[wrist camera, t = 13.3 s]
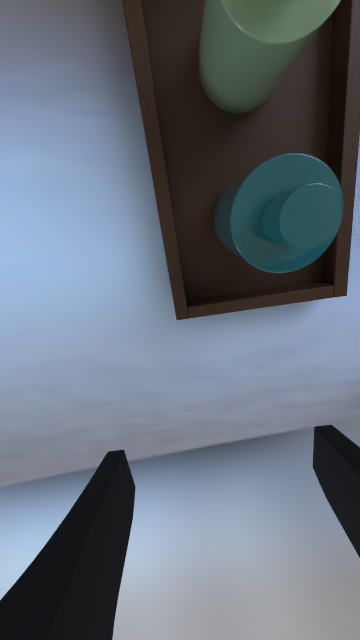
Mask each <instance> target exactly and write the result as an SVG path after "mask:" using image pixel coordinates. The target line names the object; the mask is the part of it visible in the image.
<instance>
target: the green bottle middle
mask: <svg viewBox="0 0 360 640" xmlns="http://www.w3.org/2000/svg"><path fill="white" fill-rule="evenodd" d="M340 1H341V0H204V4H203V13H202V22H201V30H200V39H199V48H198V60H197V62H198V73H199V78H200V82H201V84H202V87H203V89H204V91H205V93H206V95H207V96H208V97H209V99H210V100H211V101H212V102H213V103H214V104H215V105H216V106H217V107H219V108H220V109H222V110H224V111H227V112H230V113H246V112H249V111H252V110H254V109H256V108H258V107H259V106H261V105H262V104H263V103H264V102H266V100H267V99H268V98H269V97H270V96H271V95H272V93H273V92H274V91H275V90H276V88H277V87H278V85H279V84H280V83H281V81H282V80H283V79H284V77H285V76H286V75H287V73H288V72H289V71H290V69H291V68H292V67H293V65H294V64H295V63H296V61H297V60H298V59H299V57H300V56H301V55H302V53H303V52H304V51H305V49H306V48H307V47H308V45H309V44H310V42H311V41H312V40H313V38H314V37H315V36H316V34H317V33H318V32H319V30H320V29H321V28H322V26H323V25H324V24H325V22H326V21H327V20H328V18H329V17H330V16H331V14H332V13H333V12H334V10H335V9H336V8H337V6H338V5H339V3H340Z"/></svg>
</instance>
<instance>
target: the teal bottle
mask: <svg viewBox="0 0 360 640" xmlns="http://www.w3.org/2000/svg"><path fill="white" fill-rule="evenodd" d="M342 214H343V194H342V190H341V186H340V183H339V181H338V179H337V177H336V175H335V174H334V172H333V171H332V170H331V169H330V167H329V166H328V165H326V164H325V163H324V162H323V161H321V160H320V159H318V158H316V157H314V156H311V155H308V154H304V153H285V154H281V155H278V156H275V157H273V158H270V159H268V160H267V161H265V162H263V163H261V164H260V165H258V166H257V167H256V168H254V169H253V170H251V171H250V172H248V173H247V174H245V175H244V176H242V177H241V178H239V179H238V180H236V181H235V182H233V183H232V184H231V185H229V186H228V187H227V188H226V189H225V190H224V191H223V192H222V193H221V195H220V196H219V198H218V200H217V202H216V204H215V207H214V211H213V229H214V232H215V235H216V237H217V239H218V241H219V242H220V243H221V245H222V246H223V247H224V248H226V249H227V250H229V251H230V252H232V253H233V254H235V255H236V256H238V257H240V258H241V259H243V260H244V261H246V262H247V263H249V264H251V265H252V266H254V267H256V268H258V269H260V270H263V271H266V272H271V273H287V272H292V271H295V270H298V269H301V268H303V267H305V266H307V265H308V264H310V263H312V262H313V261H314V260H316V259H317V258H318V257H319V256H320V255H321V254H322V253H323V252H324V251H325V250H326V249H327V248H328V247H329V245H330V244H331V242H332V241H333V239H334V237H335V236H336V234H337V232H338V229H339V226H340V223H341V219H342Z"/></svg>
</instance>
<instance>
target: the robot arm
mask: <svg viewBox="0 0 360 640" xmlns="http://www.w3.org/2000/svg"><path fill="white" fill-rule="evenodd" d="M313 468H314V471H315V473H316V476H317V478H318V480H319V483H320V485H321V487H322V489H323V492H324V494H325V496H326V498H327V500H328V502H329V504H330V506H331V507H332V509H333V511H334V513H335V514H336V516H337V518H338V520H339V522H340V524H341V525H342V527H343V529H344V531H345V532H346V534H347V536H348V538H349V540H350V541H351V543H352V545H353V547H354V548H355V550H356V552H357V554H358V556H359V557H360V447H358V446H357V445H356V444H355V443H353V442H352V441H351V440H349V439H348V438H347V437H346V436H345V435H344V434H342V433H341V432H340V431H339V430H337V429H336V428H335V427H333V426H332V425H326V426H317V427H314V450H313ZM134 498H135V485H134V481H133V478H132V474H131V471H130V468H129V465H128V461H127V458H126V455H125V452H124V450H118V451H110V452H108V453H107V454H106V456H105V457H104V459H103V460H102V462H101V464H100V465H99V467H98V468H97V470H96V472H95V474H94V475H93V476H92V478H91V480H90V481H89V483H88V484H87V486H86V487H85V489H84V490H83V492H82V494H81V495H80V496H79V498H78V499H77V501H76V502H75V504H74V505H73V507H72V508H71V510H70V512H69V513H68V515H67V516H66V517H65V519H64V520H63V521H62V523H61V524H60V525H59V527H58V528H57V530H56V531H55V532H54V534H53V535H52V537H51V538H50V539H49V541H48V542H47V543H46V545H45V546H44V548H43V549H42V550H41V551H40V553H39V554H38V555H37V557H36V558H35V559H34V561H33V562H32V563H31V564H30V565H29V567H28V568H27V569H26V570H25V572H24V573H23V574H22V575H21V577H20V578H19V579H18V580H17V581H16V583H15V584H14V585H13V586H12V588H11V589H10V590H9V591H8V592H7V593H6V594H5V596H4V597H3V598H2V599H1V600H0V640H112V636H113V627H114V620H115V613H116V606H117V600H118V594H119V589H120V583H121V578H122V573H123V567H124V563H125V557H126V552H127V546H128V541H129V536H130V530H131V525H132V519H133V509H134Z"/></svg>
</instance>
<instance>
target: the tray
mask: <svg viewBox="0 0 360 640" xmlns="http://www.w3.org/2000/svg"><path fill="white" fill-rule="evenodd" d="M122 1H123V7H124V13H125V19H126V25H127V31H128V37H129V43H130V48H131V54H132V60H133V66H134V72H135V78H136V84H137V90H138V95H139V101H140V107H141V113H142V119H143V125H144V131H145V137H146V142H147V148H148V154H149V160H150V166H151V172H152V178H153V184H154V190H155V195H156V201H157V207H158V213H159V219H160V225H161V231H162V237H163V242H164V248H165V254H166V260H167V266H168V272H169V278H170V284H171V289H172V295H173V301H174V307H175V313H176V319H177V320H182V319H188V318H195V317H202V316H208V315H215V314H222V313H229V312H236V311H243V310H250V309H257V308H264V307H270V306H277V305H284V304H291V303H298V302H305V301H312V300H319V299H326V298H332V297H341V296H346V295H347V284H348V271H349V259H350V246H351V234H352V221H353V208H354V196H355V183H356V171H357V158H358V145H359V133H360V0H341V1H340V3H339V5H338V6H337V8H336V9H335V10H334V12H333V13H332V14H331V16H330V17H329V18H328V20H327V21H326V22H325V24H324V25H323V26H322V28H321V29H320V30H319V32H318V33H317V34H316V36H315V37H314V38H313V40H312V41H311V42H310V44H309V45H308V47H307V48H306V49H305V51H304V52H303V53H302V55H301V56H300V57H299V59H298V60H297V61H296V63H295V64H294V65H293V67H292V68H291V69H290V71H289V72H288V73H287V75H286V76H285V77H284V79H283V80H282V81H281V83H280V84H279V85H278V87H277V88H276V90H275V91H274V92H273V93H272V95H271V96H270V97H269V98H268V99H267V100H266V102H264V103H263V104H262V105H261V106H259V107H258V108H256V109H254V110H252V111H249V112H246V113H230V112H227V111H224V110H222V109H220V108H219V107H217V106H216V105H215V104H214V103H213V102H212V101H211V100H210V99H209V97H208V96H207V95H206V93H205V91H204V89H203V87H202V84H201V82H200V78H199V73H198V62H197V60H198V48H199V39H200V30H201V22H202V13H203V4H204V0H122ZM285 153H304V154H308V155H311V156H314V157H316V158H318V159H320V160H321V161H323V162H324V163H325V164H326V165H328V166H329V167H330V169H331V170H332V171H333V172H334V174H335V175H336V177H337V179H338V181H339V183H340V186H341V190H342V194H343V214H342V219H341V223H340V226H339V229H338V232H337V234H336V236H335V237H334V239H333V241H332V242H331V244H330V245H329V247H328V248H327V249H326V250H325V251H324V252H323V253H322V254H321V255H320V256H319V257H318V258H317V259H316V260H314V261H313V262H312V263H310V264H308V265H307V266H305V267H303V268H301V269H298V270H295V271H292V272H287V273H271V272H266V271H263V270H260V269H258V268H256V267H254V266H252V265H251V264H249V263H247V262H246V261H244V260H243V259H241V258H240V257H238V256H236V255H235V254H233V253H232V252H230V251H229V250H227V249H226V248H224V247H223V246H222V245H221V243H220V242H219V241H218V239H217V237H216V235H215V232H214V229H213V211H214V207H215V204H216V202H217V200H218V198H219V196H220V195H221V193H222V192H223V191H224V190H225V189H226V188H227V187H228V186H229V185H231V184H232V183H233V182H235V181H236V180H238V179H239V178H241V177H242V176H244V175H245V174H247V173H248V172H250V171H251V170H253V169H254V168H256V167H257V166H258V165H260V164H261V163H263V162H265V161H267V160H268V159H270V158H273V157H275V156H278V155H281V154H285Z"/></svg>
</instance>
